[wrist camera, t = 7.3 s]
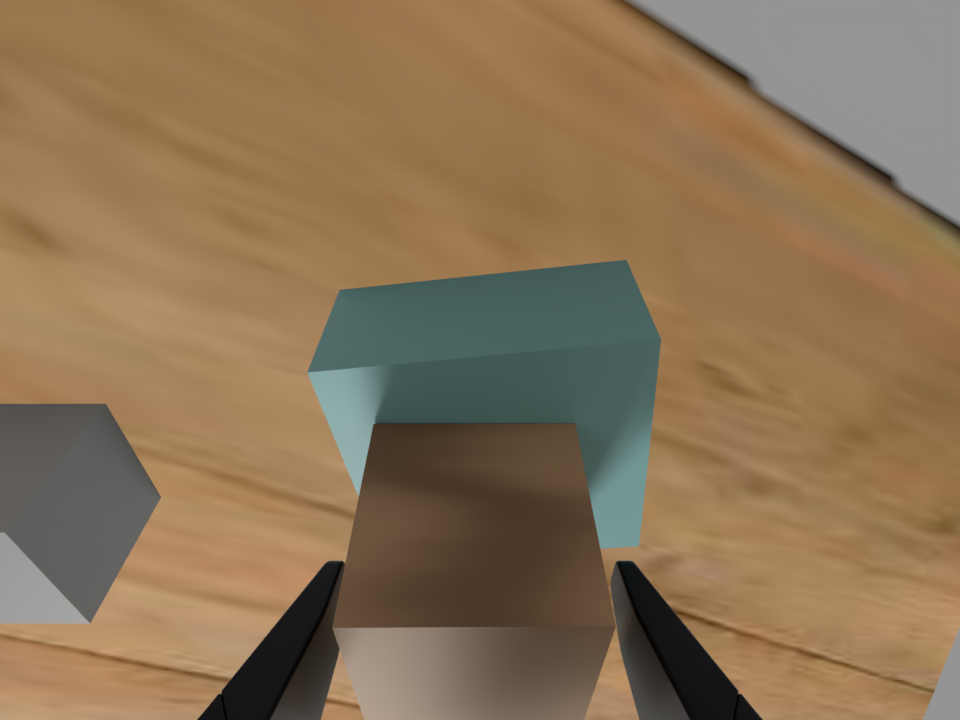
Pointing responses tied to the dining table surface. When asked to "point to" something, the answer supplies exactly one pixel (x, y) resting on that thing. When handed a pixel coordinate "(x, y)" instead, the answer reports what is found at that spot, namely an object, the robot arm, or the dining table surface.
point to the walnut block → (474, 576)
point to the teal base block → (503, 369)
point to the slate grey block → (65, 510)
